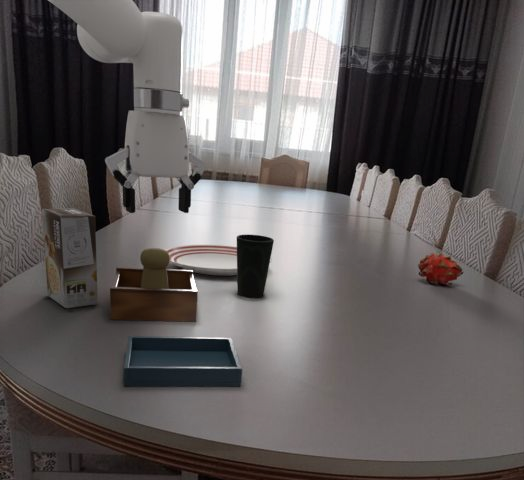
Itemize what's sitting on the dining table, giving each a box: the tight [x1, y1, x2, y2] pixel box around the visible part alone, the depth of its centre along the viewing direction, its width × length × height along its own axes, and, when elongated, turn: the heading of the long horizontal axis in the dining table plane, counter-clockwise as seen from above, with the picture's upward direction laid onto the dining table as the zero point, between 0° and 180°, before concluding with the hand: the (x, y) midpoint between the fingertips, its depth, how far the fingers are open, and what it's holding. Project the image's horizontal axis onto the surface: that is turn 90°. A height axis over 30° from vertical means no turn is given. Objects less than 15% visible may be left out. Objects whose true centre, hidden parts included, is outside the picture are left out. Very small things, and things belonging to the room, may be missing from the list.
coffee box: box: [41, 207, 99, 309], centre depth 93 cm, size 9×6×16 cm
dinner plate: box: [165, 244, 272, 277], centre depth 130 cm, size 28×27×3 cm
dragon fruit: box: [417, 252, 464, 286], centre depth 135 cm, size 8×8×12 cm
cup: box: [236, 234, 275, 299], centre depth 108 cm, size 8×8×12 cm
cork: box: [139, 247, 171, 289], centre depth 95 cm, size 6×6×11 cm
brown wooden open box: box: [109, 266, 199, 323], centre depth 96 cm, size 15×15×6 cm
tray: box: [123, 335, 243, 387], centre depth 73 cm, size 15×11×3 cm
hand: (157, 211), depth 90 cm, fingers open, 9 cm apart
